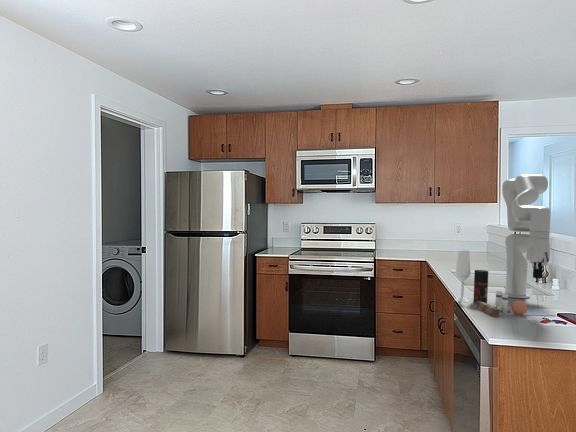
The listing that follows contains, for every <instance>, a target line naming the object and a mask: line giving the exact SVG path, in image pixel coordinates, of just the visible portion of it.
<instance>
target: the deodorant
mask: <svg viewBox="0 0 576 432" xmlns="http://www.w3.org/2000/svg"><path fill="white" fill-rule="evenodd" d="M473 278H474V279H473V280H474V281H473V300H472V301H473V303H474V302H475V303H474V304H477V301H482V302H485V303H487V304H488V291H489V290H488V289H489V271H488V270H485V269H475V270H474V277H473Z"/></svg>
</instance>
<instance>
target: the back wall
mask: <svg viewBox="0 0 576 432" xmlns="http://www.w3.org/2000/svg"><path fill="white" fill-rule="evenodd" d="M493 306H494V305H491V304H490V303H489V304H488V302H487V303H485V302H482V301H477V303H476V307H475V308H477V309H478V310H480V309H481V310H480V311H482V310H483V311H482V312H484V311H485V312H484V313H486V314H488V315H491V316H493V317H495V318H497V317H500V315H499V309H497V308H495V307H493Z"/></svg>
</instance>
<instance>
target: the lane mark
mask: <svg viewBox="0 0 576 432" xmlns="http://www.w3.org/2000/svg"><path fill="white" fill-rule="evenodd" d="M499 316H521V317H522V316H523V317H524V316H527V317H528V316H532V317H533V316H535V317H536V316H537V317H538V316H539V317H555V316H556V315H555V314H553V313H550V312H548V311H545V310H543V309H541V308H527V312H526V313H525V314H523V315H517V314H515V313H514V312H513V311H512V309H511V312H508V314H503V313H501V312H499Z"/></svg>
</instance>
